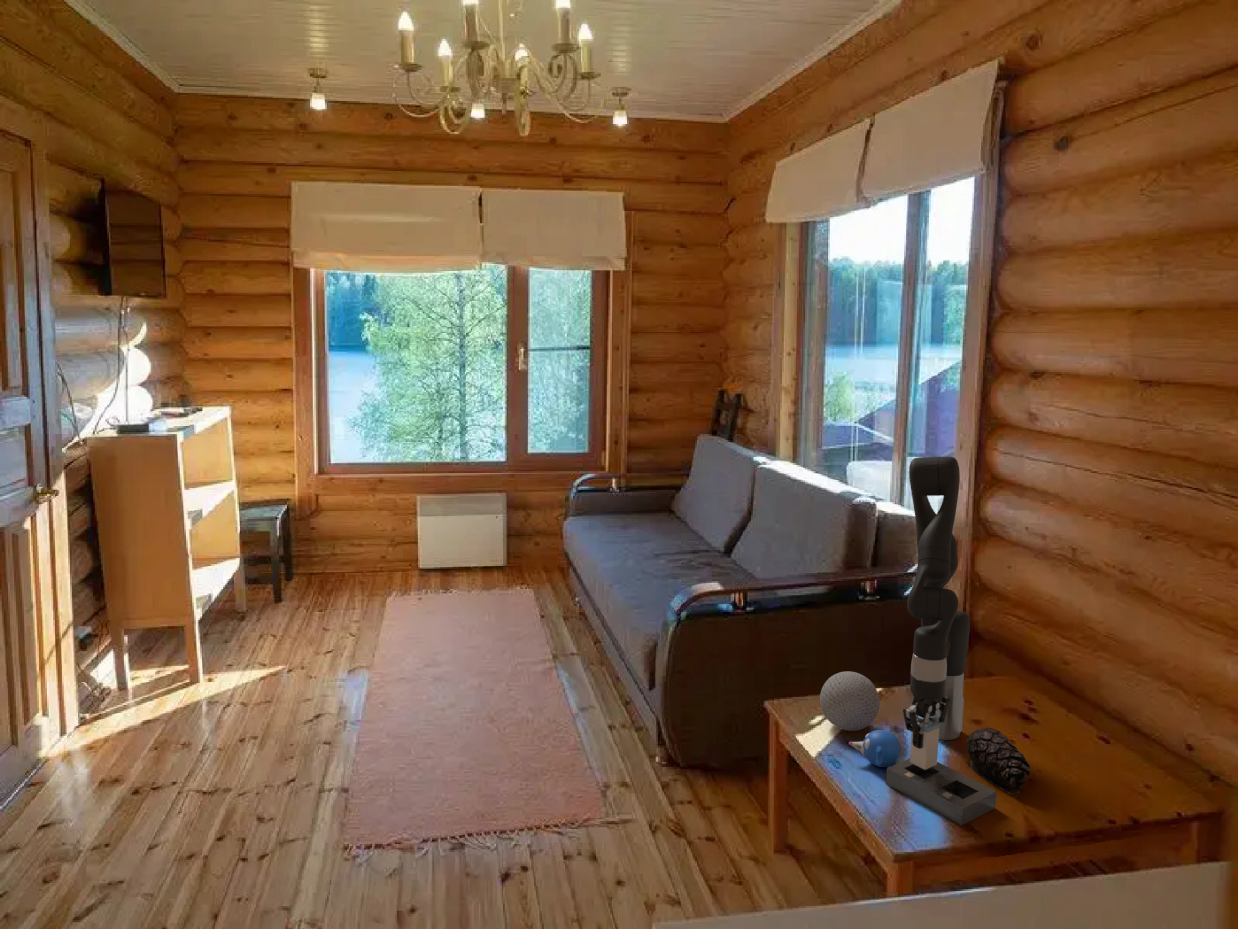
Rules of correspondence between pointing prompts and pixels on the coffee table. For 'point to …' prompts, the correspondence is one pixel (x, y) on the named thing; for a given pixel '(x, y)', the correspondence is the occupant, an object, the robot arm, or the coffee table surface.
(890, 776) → the panel
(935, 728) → the plug
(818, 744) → the coffee table surface
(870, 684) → the decorative ball
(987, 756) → the pine cone
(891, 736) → the blue mole toy
